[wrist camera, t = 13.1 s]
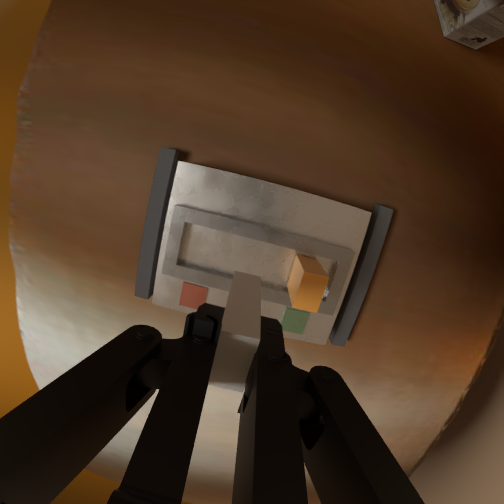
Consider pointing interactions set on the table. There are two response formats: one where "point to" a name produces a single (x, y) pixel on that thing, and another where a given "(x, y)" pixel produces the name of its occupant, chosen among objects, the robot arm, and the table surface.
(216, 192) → the panel
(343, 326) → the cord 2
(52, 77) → the table surface
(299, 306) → the lever
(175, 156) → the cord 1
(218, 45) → the table surface
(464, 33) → the coffee box
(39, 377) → the table surface
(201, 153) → the table surface
